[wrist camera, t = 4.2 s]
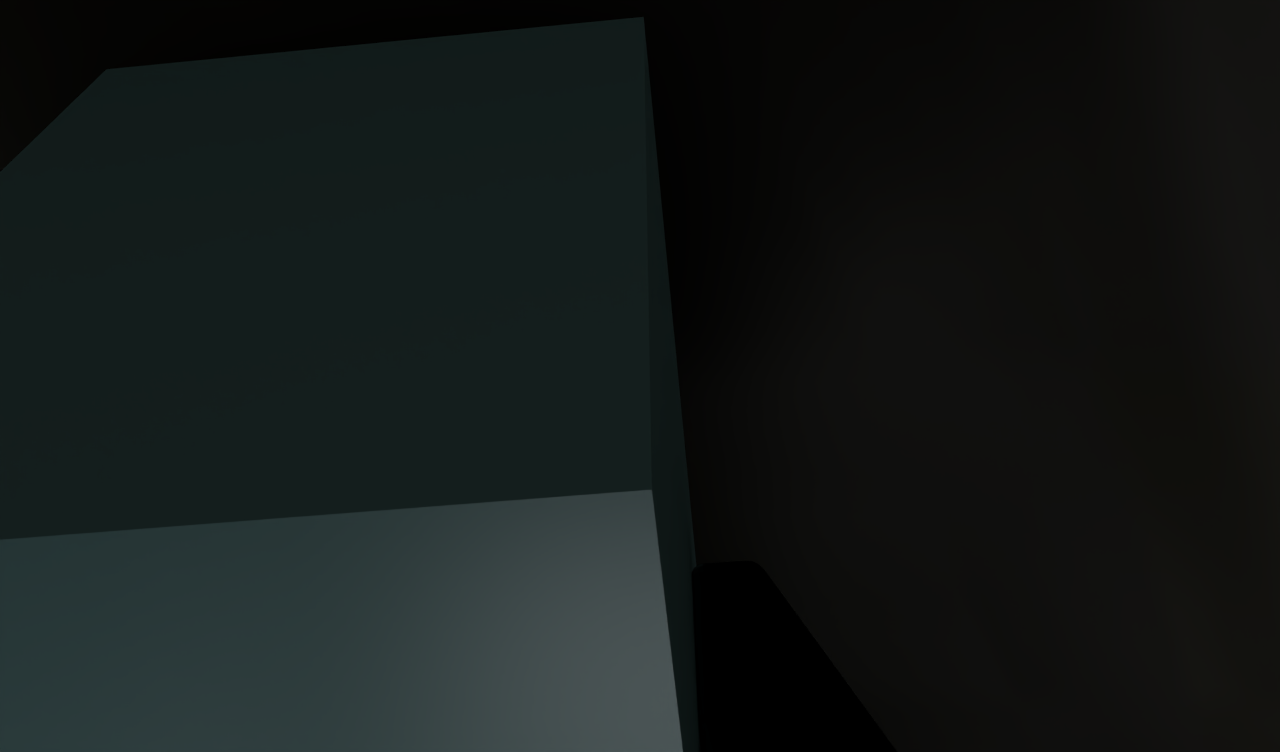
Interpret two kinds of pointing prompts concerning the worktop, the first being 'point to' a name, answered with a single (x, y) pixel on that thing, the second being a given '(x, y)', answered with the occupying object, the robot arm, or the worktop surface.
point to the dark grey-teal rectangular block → (347, 407)
